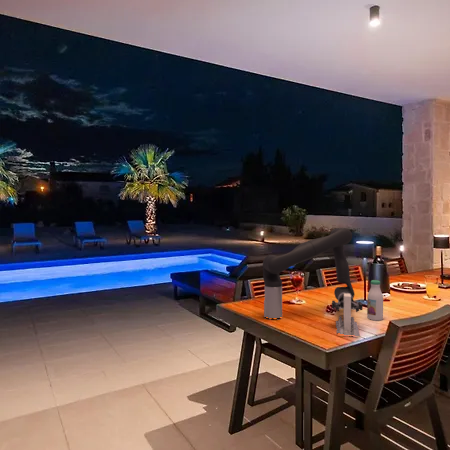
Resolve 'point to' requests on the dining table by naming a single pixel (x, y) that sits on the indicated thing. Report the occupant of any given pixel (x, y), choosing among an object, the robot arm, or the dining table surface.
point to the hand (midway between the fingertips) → (347, 309)
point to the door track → (341, 330)
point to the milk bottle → (375, 301)
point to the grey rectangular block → (347, 311)
